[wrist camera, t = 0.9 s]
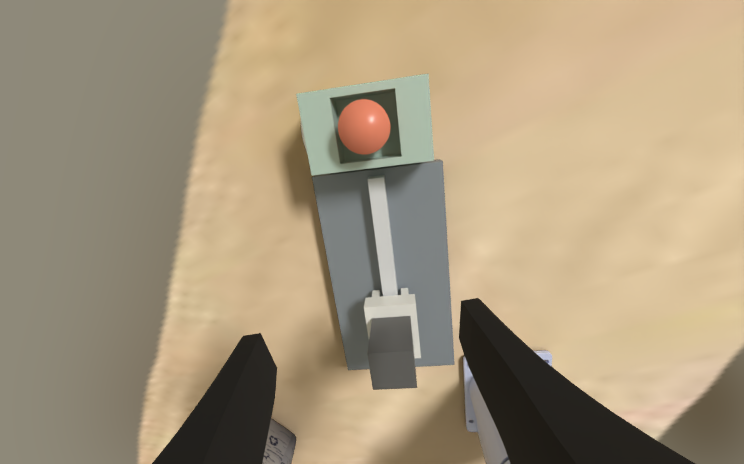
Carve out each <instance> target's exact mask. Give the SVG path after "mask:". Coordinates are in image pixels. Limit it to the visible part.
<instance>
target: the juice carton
mask: <svg viewBox="0 0 744 464" xmlns="http://www.w3.org/2000/svg"><path fill="white" fill-rule="evenodd" d="M295 445H296V437H295V435H294V434H293V433H291V432H290V431H289V430H287V429H286V428H284V427H283V426H281V425H280V424H278V423H277V422H276V421H274V420H273V419H271V421H270V426H269V432H268V437H267V442H266V447H265V452H264V457H263V463H262V464H291V462H292V458H293V454H294V449H295Z"/></svg>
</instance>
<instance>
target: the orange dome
mask: <svg viewBox="0 0 744 464" xmlns="http://www.w3.org/2000/svg"><path fill="white" fill-rule="evenodd" d="M390 130H391V124H390V120H389V117H388V115H387V113H386V112H385V110H384V109H383V108H382V107H381V106H380V105H379V104H378V103H376V102H374V101H371V100H367V99H360V100H356V101H353V102H352V103H350V104H349V105H347V106H346V107H345V108H344V110H343V111H342V113H341V115H340V117H339V121H338V132H339V136H340V139H341V141H342V142H343V144H344V145H345V146H346V147H347V148H348V149H349V150H351V151H352V152H354V153H357V154H371V153H374V152H376V151H378V150H379V149H380V148H381V147H382V146H383V145H384V144H385V143H386V141H387V140H388V138H389V135H390Z"/></svg>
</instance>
